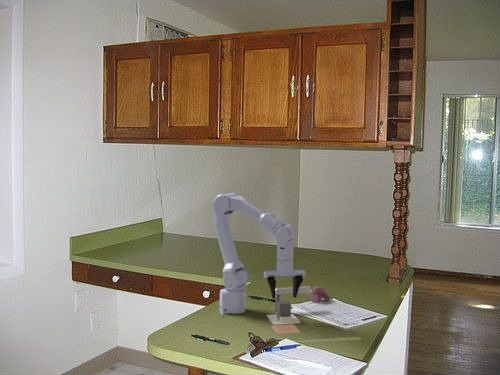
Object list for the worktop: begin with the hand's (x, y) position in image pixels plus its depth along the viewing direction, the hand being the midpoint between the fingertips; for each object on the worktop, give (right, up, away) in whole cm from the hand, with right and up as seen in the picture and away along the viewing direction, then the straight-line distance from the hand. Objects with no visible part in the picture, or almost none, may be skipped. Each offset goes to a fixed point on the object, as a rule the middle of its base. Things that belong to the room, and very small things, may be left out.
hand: (284, 297), depth 182 cm
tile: (0, -9, -10) cm, 13 cm away
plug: (0, -8, +1) cm, 8 cm away
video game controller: (+15, -7, +25) cm, 30 cm away
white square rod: (+4, -1, +10) cm, 11 cm away
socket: (-1, -8, +3) cm, 9 cm away
